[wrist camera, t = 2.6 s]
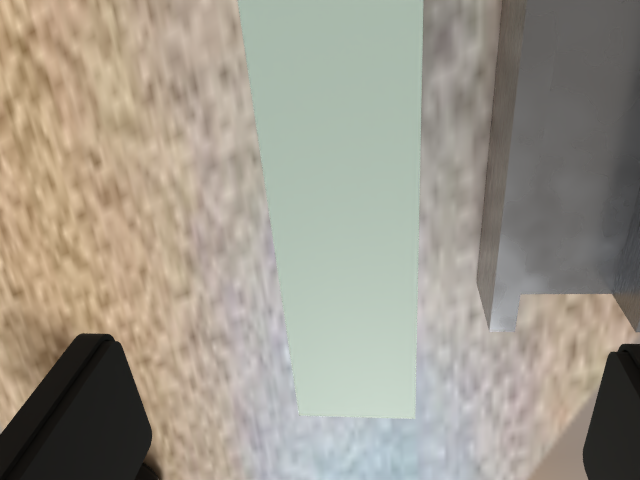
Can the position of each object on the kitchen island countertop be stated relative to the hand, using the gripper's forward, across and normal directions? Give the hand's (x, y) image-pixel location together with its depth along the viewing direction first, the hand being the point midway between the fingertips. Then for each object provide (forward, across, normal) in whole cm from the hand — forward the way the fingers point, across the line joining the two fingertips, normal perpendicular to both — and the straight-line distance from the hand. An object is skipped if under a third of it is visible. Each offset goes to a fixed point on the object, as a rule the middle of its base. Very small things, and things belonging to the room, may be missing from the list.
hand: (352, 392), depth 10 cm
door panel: (+17, +1, 0) cm, 17 cm away
